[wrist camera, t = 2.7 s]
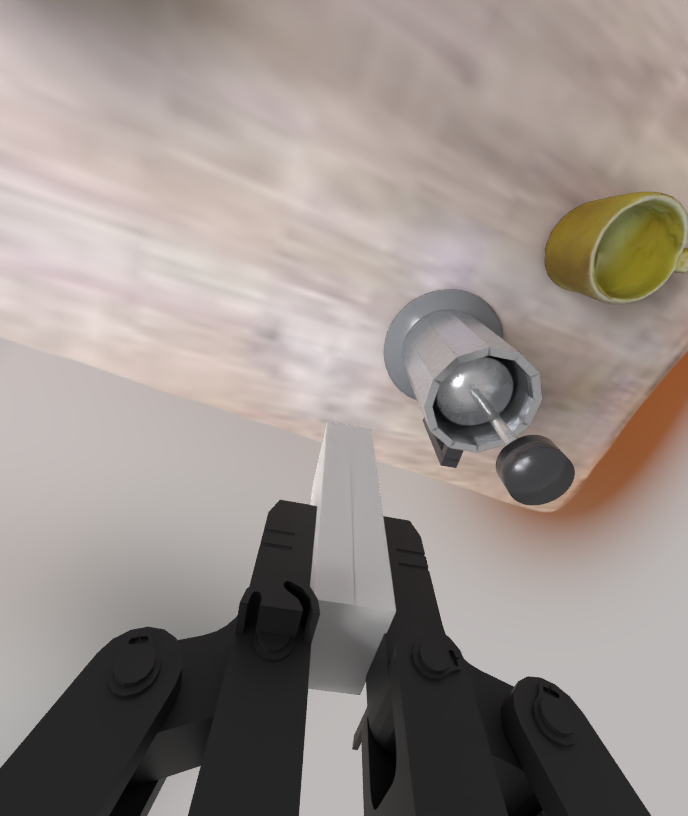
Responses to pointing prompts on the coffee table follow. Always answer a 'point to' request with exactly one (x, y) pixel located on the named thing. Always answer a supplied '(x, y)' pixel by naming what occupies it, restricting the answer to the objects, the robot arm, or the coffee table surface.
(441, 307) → the coaster
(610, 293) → the mug
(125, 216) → the coffee table surface
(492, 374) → the plunger
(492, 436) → the grey french press
